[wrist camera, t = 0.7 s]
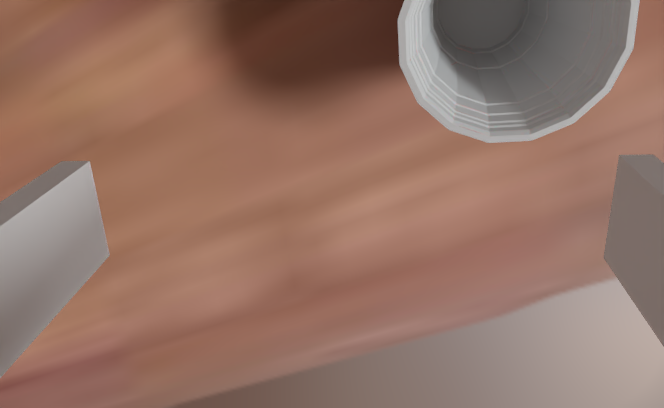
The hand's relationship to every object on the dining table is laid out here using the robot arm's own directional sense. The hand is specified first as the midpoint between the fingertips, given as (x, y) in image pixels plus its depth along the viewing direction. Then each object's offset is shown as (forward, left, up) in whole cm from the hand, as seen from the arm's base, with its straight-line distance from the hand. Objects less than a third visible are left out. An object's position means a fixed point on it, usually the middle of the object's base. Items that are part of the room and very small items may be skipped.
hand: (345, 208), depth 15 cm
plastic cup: (-2, +7, -27) cm, 28 cm away
